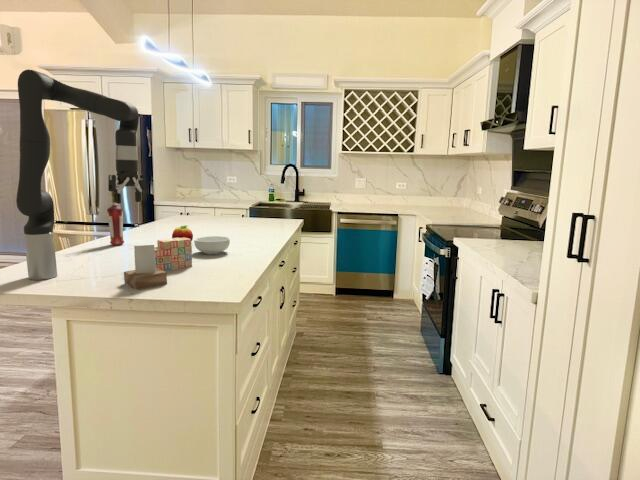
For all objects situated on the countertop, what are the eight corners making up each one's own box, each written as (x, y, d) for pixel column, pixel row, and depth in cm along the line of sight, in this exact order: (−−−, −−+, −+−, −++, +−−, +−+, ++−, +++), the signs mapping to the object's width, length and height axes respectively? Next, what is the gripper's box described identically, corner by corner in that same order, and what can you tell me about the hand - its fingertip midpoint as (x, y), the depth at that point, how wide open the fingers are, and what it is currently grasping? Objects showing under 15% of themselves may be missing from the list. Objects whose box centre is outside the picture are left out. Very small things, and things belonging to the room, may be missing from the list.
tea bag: (155, 272, 159) (154, 245, 158) (135, 273, 157) (133, 246, 155) (155, 270, 163) (154, 243, 161) (136, 271, 161) (134, 244, 159)
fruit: (168, 245, 230) (167, 227, 228) (180, 242, 240) (179, 224, 238) (185, 247, 227) (184, 228, 225) (197, 243, 237) (196, 225, 235)
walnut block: (124, 284, 161) (123, 271, 160) (153, 279, 168) (152, 266, 167) (137, 291, 153) (136, 277, 152) (167, 285, 161) (166, 272, 160)
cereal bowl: (234, 249, 222) (233, 236, 221) (223, 257, 206) (223, 242, 205) (202, 248, 224) (201, 235, 223) (189, 255, 208) (188, 241, 206)
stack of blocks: (141, 274, 173) (140, 244, 171) (136, 271, 178) (134, 242, 176) (192, 266, 187) (191, 238, 185) (186, 264, 192) (185, 236, 190)
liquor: (109, 243, 231) (105, 191, 226) (124, 242, 235) (120, 191, 230) (110, 246, 225) (106, 192, 220) (125, 245, 229) (121, 192, 223)
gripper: (136, 158, 167) (137, 200, 170) (102, 157, 155) (104, 203, 158) (149, 159, 164) (150, 202, 167) (116, 158, 151) (117, 204, 154)
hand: (128, 202), depth 162 cm, fingers open, 8 cm apart
